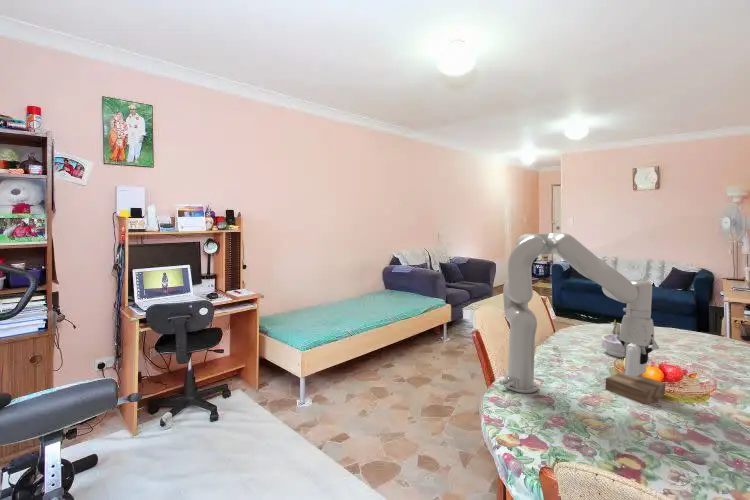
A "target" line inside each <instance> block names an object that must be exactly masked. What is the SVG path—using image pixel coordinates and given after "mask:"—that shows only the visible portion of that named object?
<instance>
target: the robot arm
mask: <svg viewBox="0 0 750 500" xmlns="http://www.w3.org/2000/svg"><path fill="white" fill-rule="evenodd" d="M554 254H556V255H557V256H559V257H560V258H561V259H562V260H563V261H565V262H566V263H567V264H568V265H570V266H571V267H572V268H573V269H574V270H575V271H577V273H579V274H580V275H582V276H583V277H585V278H587V279H589V280H590V281H593V282H595V283H596V284H598V285H599V286H601V291H602V292H603V294H604V295H605V296H606V297H608V298H609V299H612V300H614V301H617V302H620V303H622V304H626V307H623V308H622V312H625V314H624V315H623V317H622V319H621V322H620V333H619V334H617V335H618V336H617V337H616V338H617V339H618V340H619V341H620V342H621V344H622V345H623V346H624V349H625V355H626V347H627V346H628V345H629V344H630V343H633V344H636V345H638V346H641V348H642V354H641V357H640V364H646V363H648V362H649V361H648V360H649V354H650V353H651V352H653V351H656V350H658V349H660V346H659V344H658V343H657V341H656V340H655V327H654V320H653V319H652V318H651V316H652V300H653V298H652V297H653V284H652V283H651V282H649V281H648V280H647V281H646V280H641V279H640V280H630V279H628V278H627V277H626V276H625V275H623V274H622V273H620V272H619V271H618V270H616V269H615V268H614V267H612V266H611V265H609V264H608V263H606V262H605V261H604V260H602V259H601V258H599V257H598V256H597V255H596V254H594V253H593V252H592V251H591V250H589V249H588V248H587V247H586V246H585V245H583V244H582V243H581V242H580V241H578V240H577V238H575V237H574V236H572V235H571V234H569V233H566V232H565V233H564V232H551V233H550V232H548V233H524V234H522V235H521V236H519V237H518V238H517V239H516V243H515V247H514V248H513V249H512V251H511V253H510V254H509V258H508V261H507V279H506V280H505V282H504V283H503V288H502V295H503V298H502V299H503V309H504V310H503V311H504V317H505V319H506V320H507V322H508V323H509V335H508V359H507V361H508V364H507V374H506V377H505V378H504V379H500V380H499V382H498V383H499V385H501V386H504V387H505V388H507V389H508V390H511V391H513V392H517V393H522V394H532V393H535V392H536V391H538V389H539V385H538V383H537V382H535V380H534V379H535V348H536V347H535V346H536V335H537V334H536V333H537V329H538V328H537V327H538V321H537V317H536V315H535V313H534V312H533V311H532V310H531V309H530V308H529V302H530V301H531V300H532V298H533V296H534V292H533V291H534V289H533V277H532V276H533V275H532V266H533V262H535V259H536V258H537V257H539V256H540V255H554ZM646 365H647V364H646Z"/></svg>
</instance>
